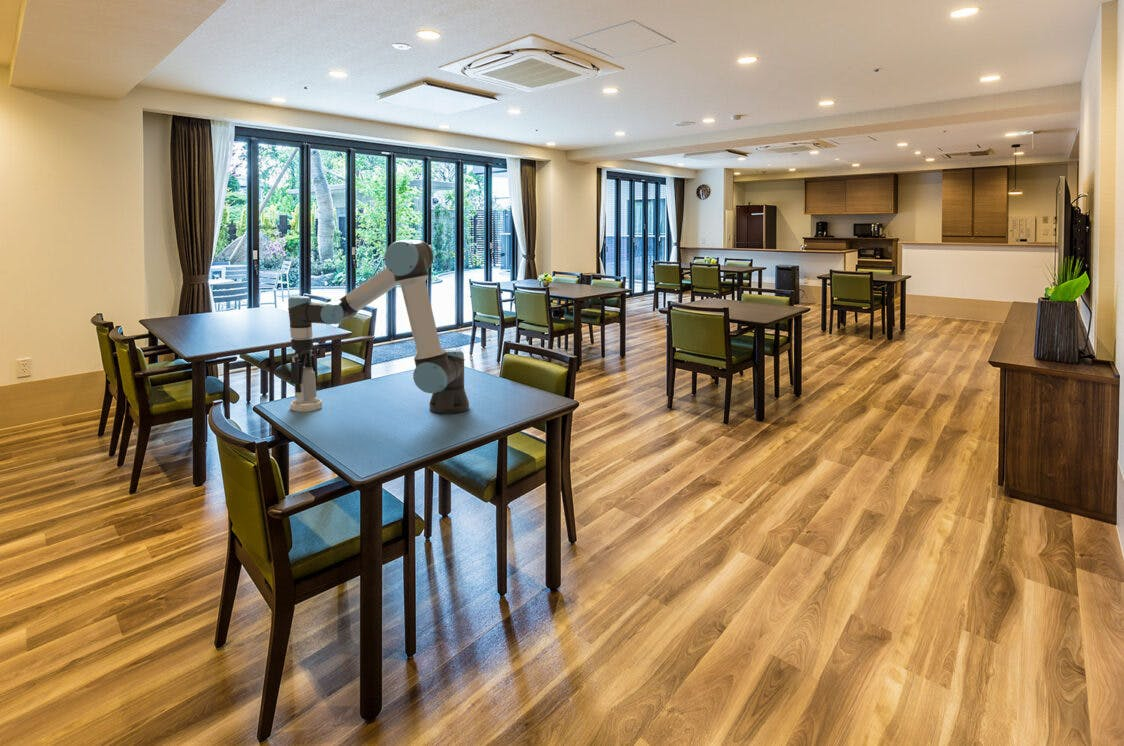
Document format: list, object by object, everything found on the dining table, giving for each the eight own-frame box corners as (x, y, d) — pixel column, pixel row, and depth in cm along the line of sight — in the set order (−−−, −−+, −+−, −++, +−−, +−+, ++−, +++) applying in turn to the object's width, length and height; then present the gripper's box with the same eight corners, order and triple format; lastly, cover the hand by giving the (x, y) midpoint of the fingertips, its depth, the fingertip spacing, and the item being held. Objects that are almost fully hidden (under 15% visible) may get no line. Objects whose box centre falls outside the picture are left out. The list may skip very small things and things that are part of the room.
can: (295, 397, 236) (293, 366, 233) (316, 396, 239) (314, 365, 236) (294, 402, 229) (292, 371, 227) (316, 401, 232) (314, 369, 229)
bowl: (327, 404, 239) (327, 398, 239) (312, 412, 229) (312, 406, 228) (300, 403, 241) (300, 397, 240) (285, 410, 230) (284, 404, 229)
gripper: (306, 333, 239) (310, 390, 244) (276, 342, 219) (281, 404, 224) (324, 334, 238) (328, 391, 243) (296, 343, 218) (301, 405, 224)
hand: (306, 397), depth 234 cm, fingers closed on can, 7 cm apart
